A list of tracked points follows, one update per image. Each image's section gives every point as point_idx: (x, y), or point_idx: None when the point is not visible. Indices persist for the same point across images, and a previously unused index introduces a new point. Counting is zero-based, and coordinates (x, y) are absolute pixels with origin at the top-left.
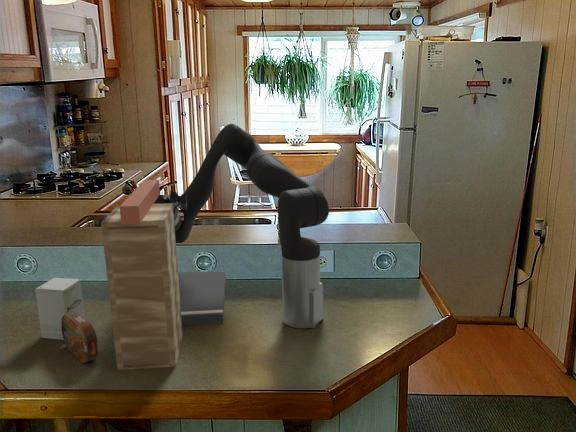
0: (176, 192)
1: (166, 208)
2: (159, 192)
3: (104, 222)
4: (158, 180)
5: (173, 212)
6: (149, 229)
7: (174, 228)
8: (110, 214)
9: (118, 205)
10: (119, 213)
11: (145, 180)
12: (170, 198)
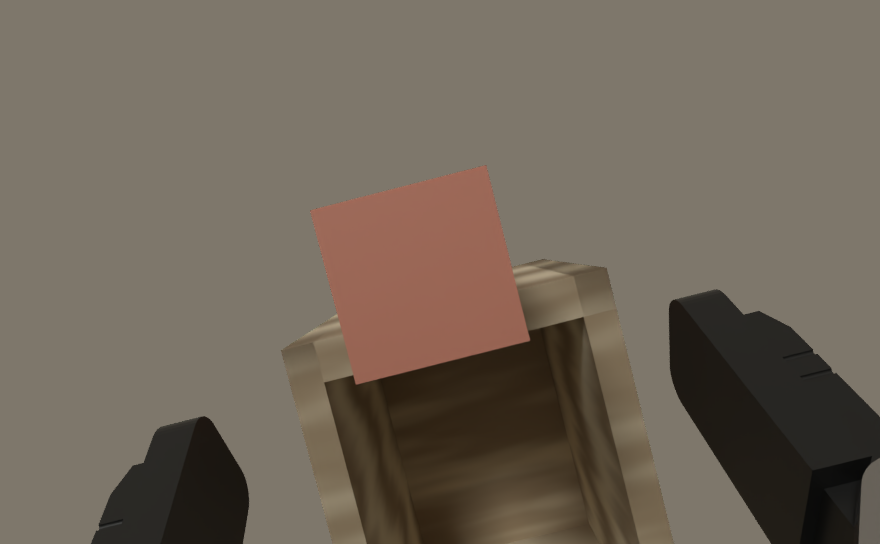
0: (107, 506)
1: (326, 327)
2: (352, 355)
3: (531, 262)
4: (316, 216)
5: (296, 404)
6: None
7: (323, 496)
8: (554, 264)
9: (595, 269)
10: (523, 273)
11: (460, 174)
12: (245, 507)
